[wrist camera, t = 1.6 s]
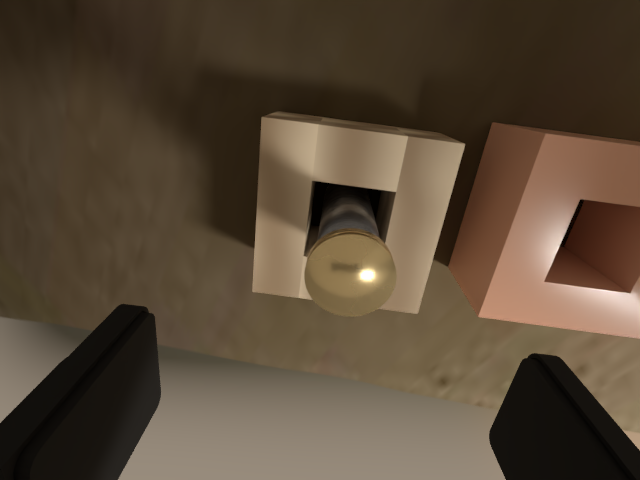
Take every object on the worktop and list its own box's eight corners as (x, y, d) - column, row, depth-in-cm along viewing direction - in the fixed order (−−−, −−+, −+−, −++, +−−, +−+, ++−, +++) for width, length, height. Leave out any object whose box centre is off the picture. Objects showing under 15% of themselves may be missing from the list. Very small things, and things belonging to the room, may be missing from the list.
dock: (656, 144, 21) (767, 163, 16) (586, 285, 25) (654, 340, 20) (492, 122, 21) (545, 133, 16) (448, 267, 25) (478, 316, 20)
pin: (377, 176, 23) (405, 242, 13) (368, 227, 24) (386, 322, 14) (323, 169, 23) (309, 229, 13) (316, 220, 24) (299, 310, 14)
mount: (438, 132, 22) (465, 144, 17) (403, 273, 26) (417, 313, 21) (278, 111, 22) (261, 116, 17) (268, 255, 26) (252, 291, 21)
